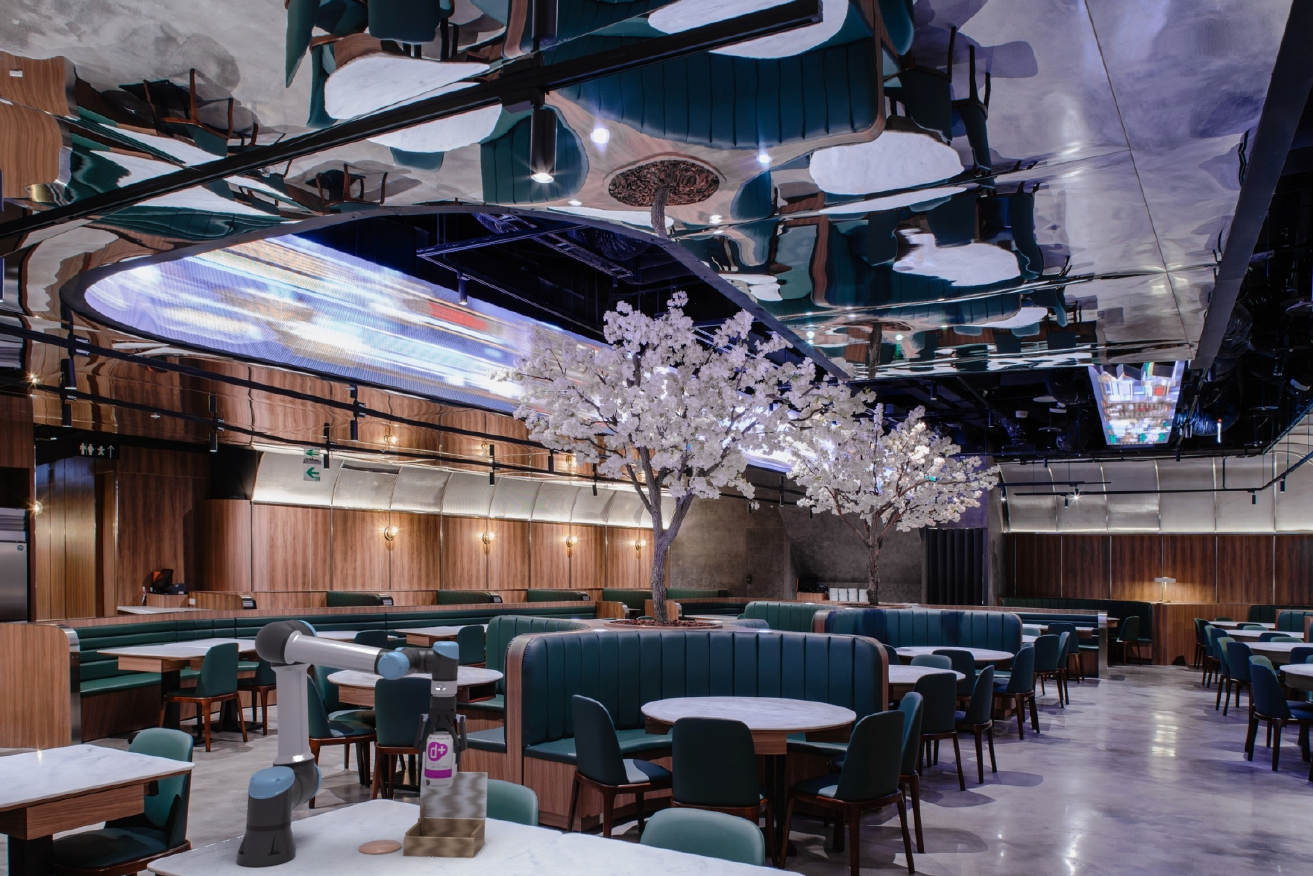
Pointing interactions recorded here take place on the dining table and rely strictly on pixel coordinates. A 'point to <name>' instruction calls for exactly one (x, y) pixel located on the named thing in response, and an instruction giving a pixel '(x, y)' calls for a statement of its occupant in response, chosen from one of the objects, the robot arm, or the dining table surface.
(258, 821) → the robot arm
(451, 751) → the supplement can
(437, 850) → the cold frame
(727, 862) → the dining table surface
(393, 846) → the saucer
